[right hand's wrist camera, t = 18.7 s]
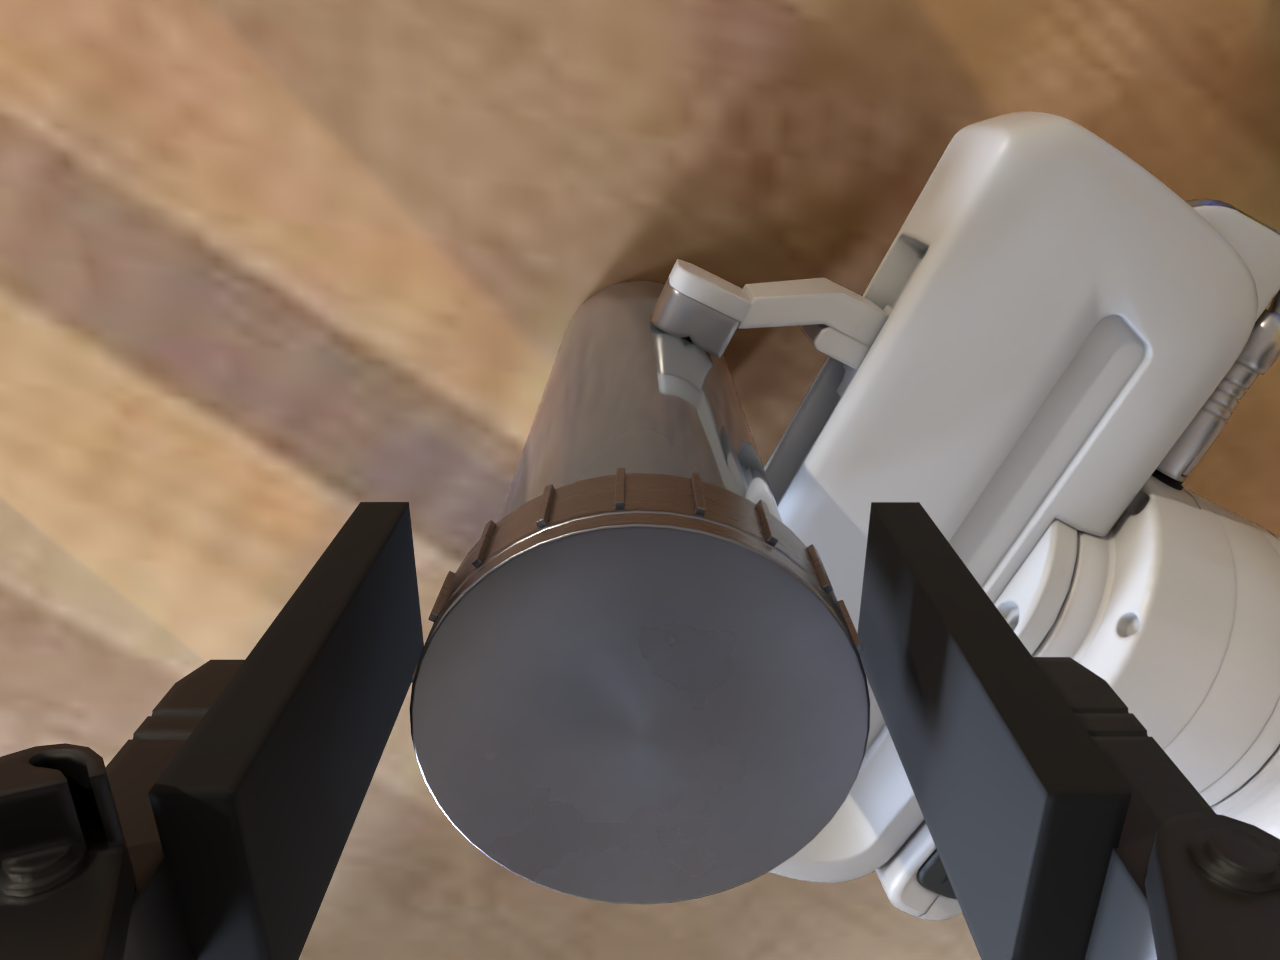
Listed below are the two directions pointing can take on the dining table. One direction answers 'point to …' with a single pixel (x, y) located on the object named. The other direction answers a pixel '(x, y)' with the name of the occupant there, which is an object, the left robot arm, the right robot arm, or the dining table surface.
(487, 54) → the dining table surface
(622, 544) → the lid
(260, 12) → the dining table surface
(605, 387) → the grey cylinder
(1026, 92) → the dining table surface
